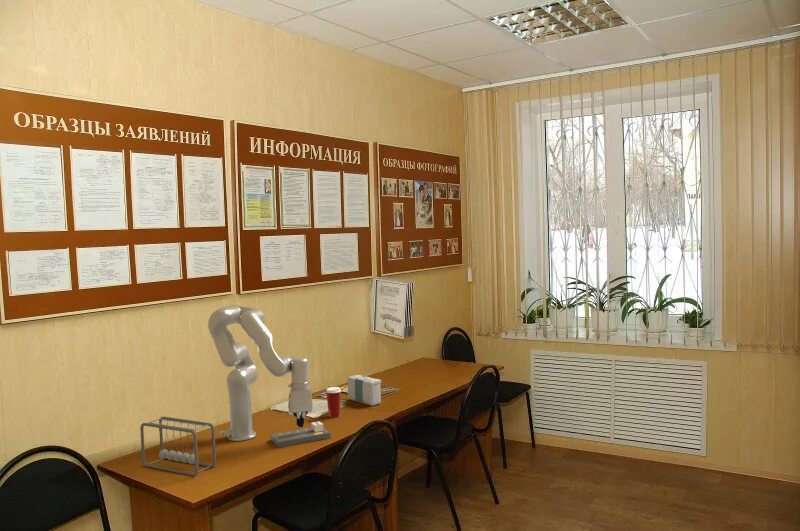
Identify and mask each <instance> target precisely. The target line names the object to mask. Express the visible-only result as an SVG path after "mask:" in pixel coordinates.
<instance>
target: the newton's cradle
mask: <svg viewBox="0 0 800 531" xmlns="http://www.w3.org/2000/svg"><path fill="white" fill-rule="evenodd" d="M157 421H158V423H156V422H157ZM163 421H164V423H167V424H163ZM169 422H170V423H169ZM176 423H177V424H176ZM170 424H173V425H170ZM182 424H185V426H187V427H183V425H182ZM176 425H180V426H176ZM190 425H191V426H190ZM189 426H190V427H189ZM193 426H195V427H194V428H192V427H193ZM196 426H199V427H198V428H197V427H196ZM144 427H151V428H156V429H158V431H159V448H160V449H159V450H160V451H159V453H158V457H159V458H160V459H158V460H155V461H152V462H150V463H147V462H146V455H145V452H146V450H145V433H144V432H145V431H144ZM205 427H210V429H211V431H210V432H211V446H212V447H211V449H212V463H211V464H210V463H207V462H206V463H205V462H200V461H199V458H198V437H197V433H196V431H198V430H201V429H202V428H205ZM139 429H140V431H139V432H140V444H141V445H140V447H141V463H142V464H143V466H144V467H146V466H147V468H150V467H152V469H155V468H156V470H160V469H161V470H162V471H166V472H170V473H171V472H172V473H177V474H182V475H187V476H191V477H195V476H197V475H198V474H199V473H201V472H202V471H205V470H207V469H209V468H214V467H215V466H216V464H217V460H216V458H217V456H216V438H215V436H216V435H215V434H216V432H215V426H214V425H213V423H212V422H205V421H198V420H197V421H196V420H190V419H183V418H176V417H170V416H169V417H168V416H160V417H159V418H158V419H155V420H151V421H149V422H142V423H141V424H140V428H139ZM163 429H164V430H165V434H168V432H167V431H168V430H170V431H172V433H173V434H172V437H173V440H176V438H175V433H174V432H176V431H177V432H179V434H180V435H179V437H180V441H179V444H178V447H177V446H175V448H176V451H175V450H173V449H169V450H168V449H166V446H164V443H166V441H167V442H168V448H171V447H174V446H173V444H174V443H173V442H175V445H177V443H176V441H172V444H171V445H170V442H169V441H170V440H166V439H169V436H168V435H166V437H165V440H164V436H163ZM182 432H184V433H186V434H187V435H186V439H187V441H190V440H189V434H192V436H193V447H192V450H191V447H189V449H190V451H192V452H190V454H189V452H186V451H185V449H188V448H187V447H188V446H187V445H189V446H191V443H190V442H188V443H185V444H186V445H185V448H184V447H182V450H183V452H181V451H180V450H178V448H180V445H181V443H182V446H184V444H183V442H181V441H183V437H182ZM170 446H171V447H170ZM167 459H168V461H174V462H179V463H184V464H190V465H194V472H191V471H187V470H180V469H174V468H172V467H171V468H170V467H166V466H160V465H155V464H154V463H156V462H159V461H162V460H167ZM199 466H200V467H205V468H203V469H201V470H199Z"/></svg>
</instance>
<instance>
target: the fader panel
mask: <svg viewBox="0 0 800 531" xmlns="http://www.w3.org/2000/svg"><path fill="white" fill-rule="evenodd" d="M269 435H270V436H269V437H270V438H269V439H270V442H272V443H273V444H274V446H276V448H277V449H278V448H284V447H285V446H286V447H290V446H289V445H291V446H295V445H294V444H296V445H300V444H299V443H302V444H306V443H305V442H307V443H310V442H309V441H313V442H316V441H315V440H318V441H322V440H321V439H323V440H328V439H327V438H329V439H331V432H330V431H329V430H327V429H326V428H325V427H323V431H319V432H314V431H313V430H312V429H311V427H308V428H307V427H306V428H301V429H296V430H295V429H294V430H290V431H289V430H288V431H285V432H284V431H283V432H279V433H278V432H277V433H271V434H269Z"/></svg>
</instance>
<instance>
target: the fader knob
mask: <svg viewBox="0 0 800 531" xmlns="http://www.w3.org/2000/svg"><path fill="white" fill-rule="evenodd" d="M310 426H311V427H310V428H311V429H312V430H313V431H314V432H319V431H323V428H324V423H322V422H321V421H315V422H313V421H312V422H311V424H310Z"/></svg>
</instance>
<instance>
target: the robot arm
mask: <svg viewBox="0 0 800 531" xmlns="http://www.w3.org/2000/svg"><path fill="white" fill-rule="evenodd" d="M265 322H266V316H265V313H264V312H263V311H262V310H260V309H257V308H253V307H247V306H242V305H238V304H237V305H235V304H233V305H232V304H231V305H228V306H223V307H220V308H217V309H216V310H214V311H213V312H212V313H211V314H210V316H209V318H208V322H207V327H208V331H209V335H211V336H210V337H211V338H212V340H213V342H214V345H215V348H216V351H217V353H218V355H219V358H220V361H221V363H222V364H223V365H224V366H225V367H227V368H231V367H235V368H234V369H232V370H231V371H230V372H229V373H228V375H227V377H226V386H227V391H228V400H229V401H228V402H229V418H230V419H229V420H230V427H228V429H226V430H219V434H220V436H224V437H227V440H229V441H233V442H243V441H249V440H251V439H253V438H255V437H256V436H257V432H256V431H255V430H253V414H252V413H253V412H252V411H253V410H252V396H251V391H250V388H249V386H250V385H252V384H253V383H255V382H256V381H257V379H258V375H259V373H258V372H259V371H258V369H257V366H256V364H255V361H254V357H252V354H251V352H250V349H249V347H248V346H246V345H245V344H244V343H241V342H236V340H235V339H234V337H233V334H232V332H231V331H230V330H229V329H228V326H230V325H234V324H237V325H240V326H241V328H242V329H243V330H244V331H245V333H246V334H247V336H248V337H249V338H250V340H251V341H252V342H253V343H254V345H255V346H256V348H257V352H258V355H259V358H260V360H261V362H262V363H263V365H264V366H265V368H266V369H267V371H268V372H270V373H271V375H273V376H274V377H278V378H279V377H283V376H285V375H286V374H289V373H290V374H291V375H290V376H291V382H290V384H288V388H290V389H289V394H288V403H287V405H288V415H290V416H294V417H295V418H296V426H297V427H298V428H303V427H304V424H305V418H306V416H307V415H308V414H310V413H312V412H313V396H312V395H313V394H312V390H311V387H310V386H309V384H310V383H309V382H310V381H309V359H308V358H305V357H294V356H293V357H292V356H290V355H284V356H281V357H279V356H278V354H277V353H276V351H275V350H274V347H273V337H274V336H273V334H272V332H271V331H270V330H269V329H268V328H267V326H266V324H265Z"/></svg>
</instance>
